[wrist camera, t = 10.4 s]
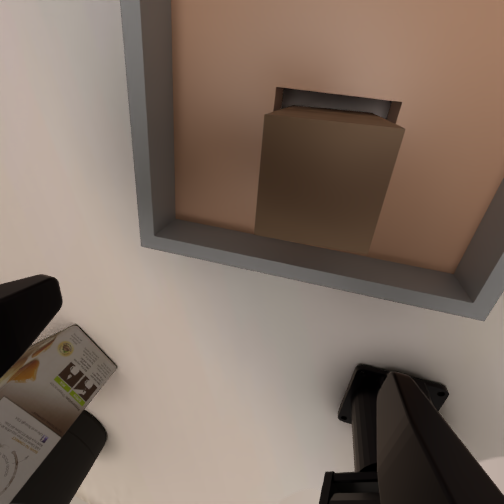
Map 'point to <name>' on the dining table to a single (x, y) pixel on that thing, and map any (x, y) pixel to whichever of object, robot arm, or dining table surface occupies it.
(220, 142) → the box
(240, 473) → the dining table surface
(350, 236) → the walnut peg
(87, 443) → the pen holder
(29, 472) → the coffee box
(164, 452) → the dining table surface
